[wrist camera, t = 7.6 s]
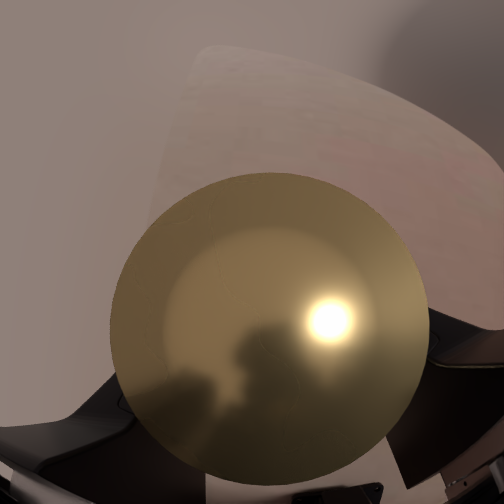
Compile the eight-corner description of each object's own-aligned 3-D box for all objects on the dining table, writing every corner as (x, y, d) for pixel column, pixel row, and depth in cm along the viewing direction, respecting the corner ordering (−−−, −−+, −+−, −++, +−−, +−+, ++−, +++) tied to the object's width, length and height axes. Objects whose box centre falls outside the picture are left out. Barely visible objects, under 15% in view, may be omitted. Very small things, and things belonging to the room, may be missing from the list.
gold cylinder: (306, 367, 14) (416, 462, 2) (234, 366, 14) (115, 459, 2) (306, 298, 15) (407, 179, 3) (236, 298, 16) (132, 181, 4)
